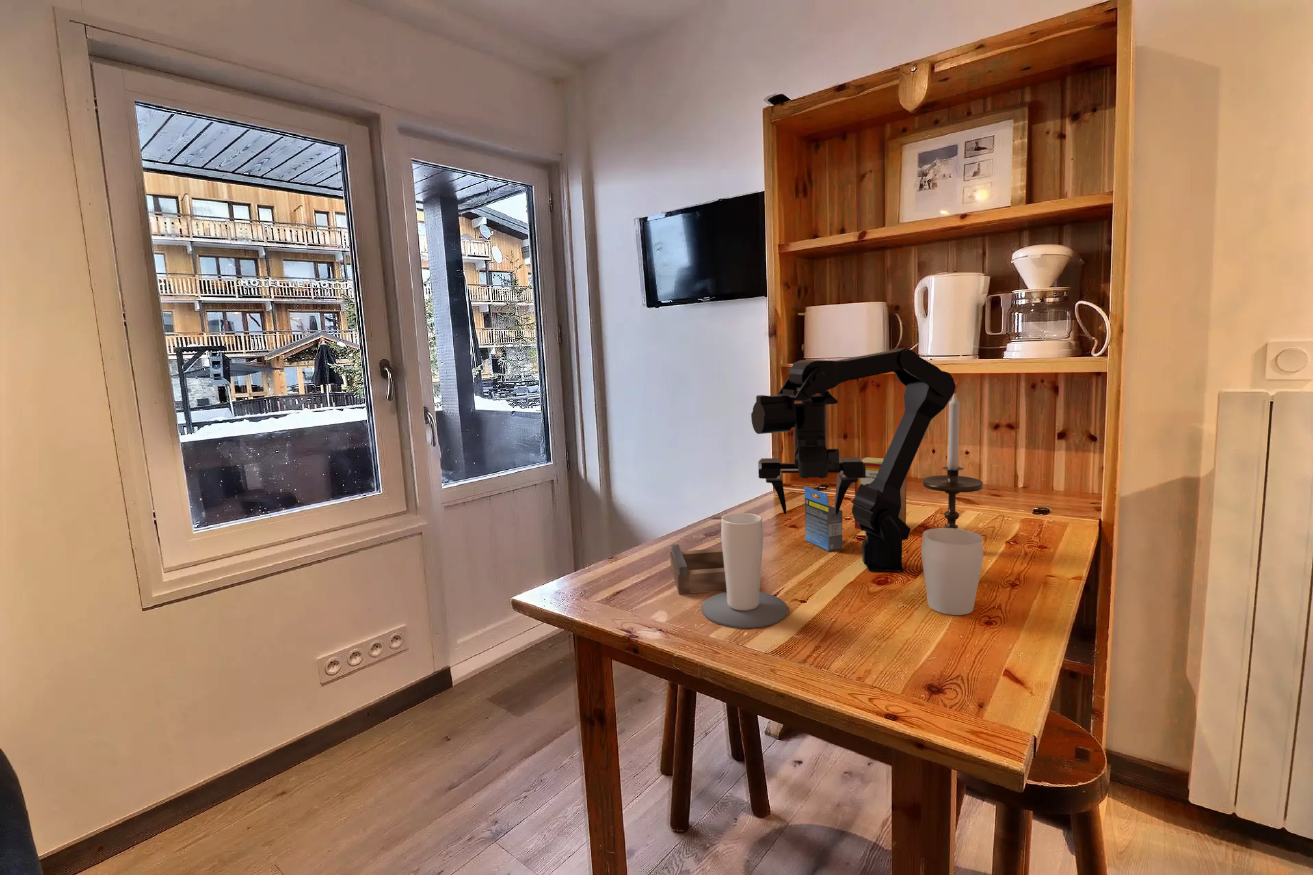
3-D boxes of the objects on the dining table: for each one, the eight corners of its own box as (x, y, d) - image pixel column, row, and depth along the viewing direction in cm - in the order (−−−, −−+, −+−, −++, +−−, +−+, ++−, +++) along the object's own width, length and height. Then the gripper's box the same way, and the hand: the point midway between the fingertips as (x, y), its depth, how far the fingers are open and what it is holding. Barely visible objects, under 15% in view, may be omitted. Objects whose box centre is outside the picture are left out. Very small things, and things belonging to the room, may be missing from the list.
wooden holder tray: (735, 564, 128) (734, 540, 128) (750, 588, 115) (750, 562, 115) (670, 568, 127) (669, 544, 127) (678, 593, 114) (677, 567, 114)
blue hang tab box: (843, 549, 135) (843, 491, 133) (827, 552, 133) (827, 494, 132) (819, 537, 143) (818, 483, 141) (804, 540, 142) (803, 485, 140)
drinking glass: (751, 617, 102) (750, 526, 100) (715, 608, 106) (713, 520, 104) (770, 602, 108) (770, 515, 105) (735, 594, 112) (733, 510, 109)
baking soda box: (854, 528, 149) (855, 460, 147) (865, 521, 154) (865, 455, 152) (896, 534, 143) (897, 463, 141) (905, 527, 148) (906, 458, 146)
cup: (978, 623, 98) (980, 547, 96) (915, 612, 103) (916, 540, 101) (984, 602, 106) (986, 531, 104) (925, 592, 110) (926, 525, 109)
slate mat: (785, 594, 112) (785, 591, 112) (789, 629, 99) (789, 626, 99) (705, 592, 115) (705, 589, 114) (698, 626, 101) (698, 623, 101)
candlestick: (993, 554, 128) (999, 377, 122) (947, 562, 125) (952, 381, 119) (953, 539, 138) (957, 375, 133) (910, 545, 135) (913, 378, 130)
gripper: (757, 437, 110) (759, 526, 112) (871, 435, 107) (870, 526, 109) (757, 428, 121) (759, 509, 123) (861, 426, 118) (860, 509, 120)
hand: (810, 513), depth 119 cm, fingers open, 9 cm apart
